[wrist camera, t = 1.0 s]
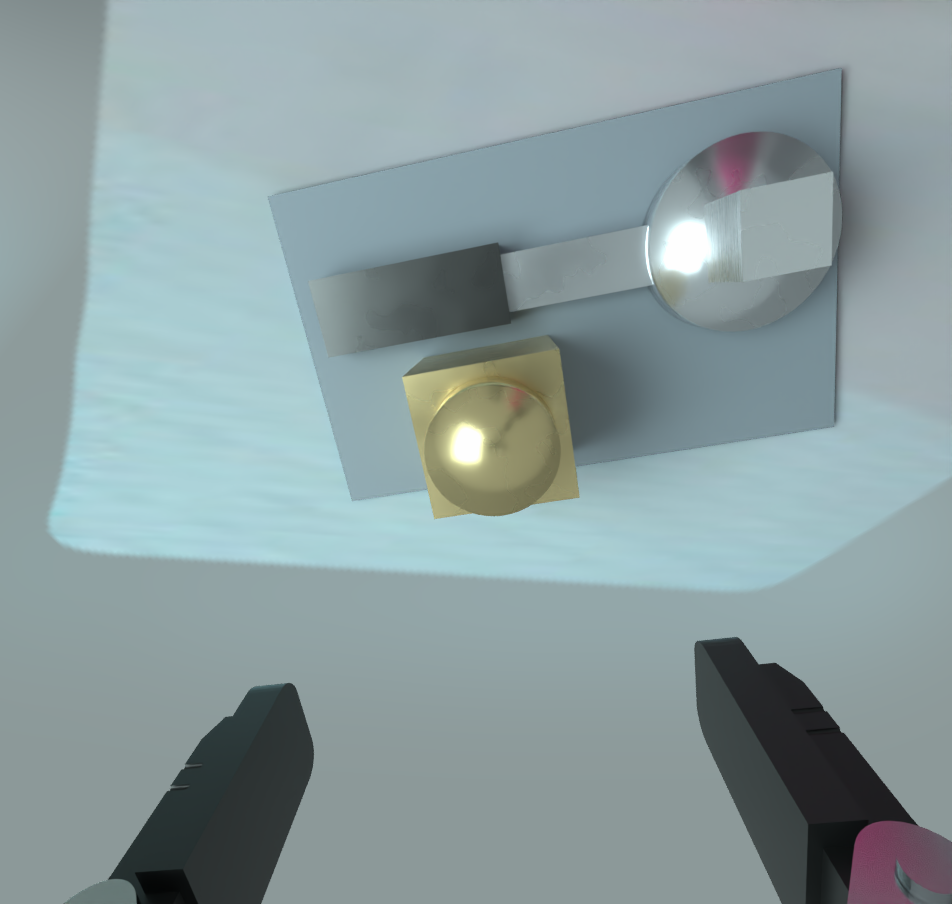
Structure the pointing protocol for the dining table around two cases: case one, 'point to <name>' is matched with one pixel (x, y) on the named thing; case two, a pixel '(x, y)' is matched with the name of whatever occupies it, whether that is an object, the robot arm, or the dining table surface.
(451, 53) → the dining table surface
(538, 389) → the brass knob block
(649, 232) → the metal ladle
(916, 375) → the dining table surface
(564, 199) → the mat
